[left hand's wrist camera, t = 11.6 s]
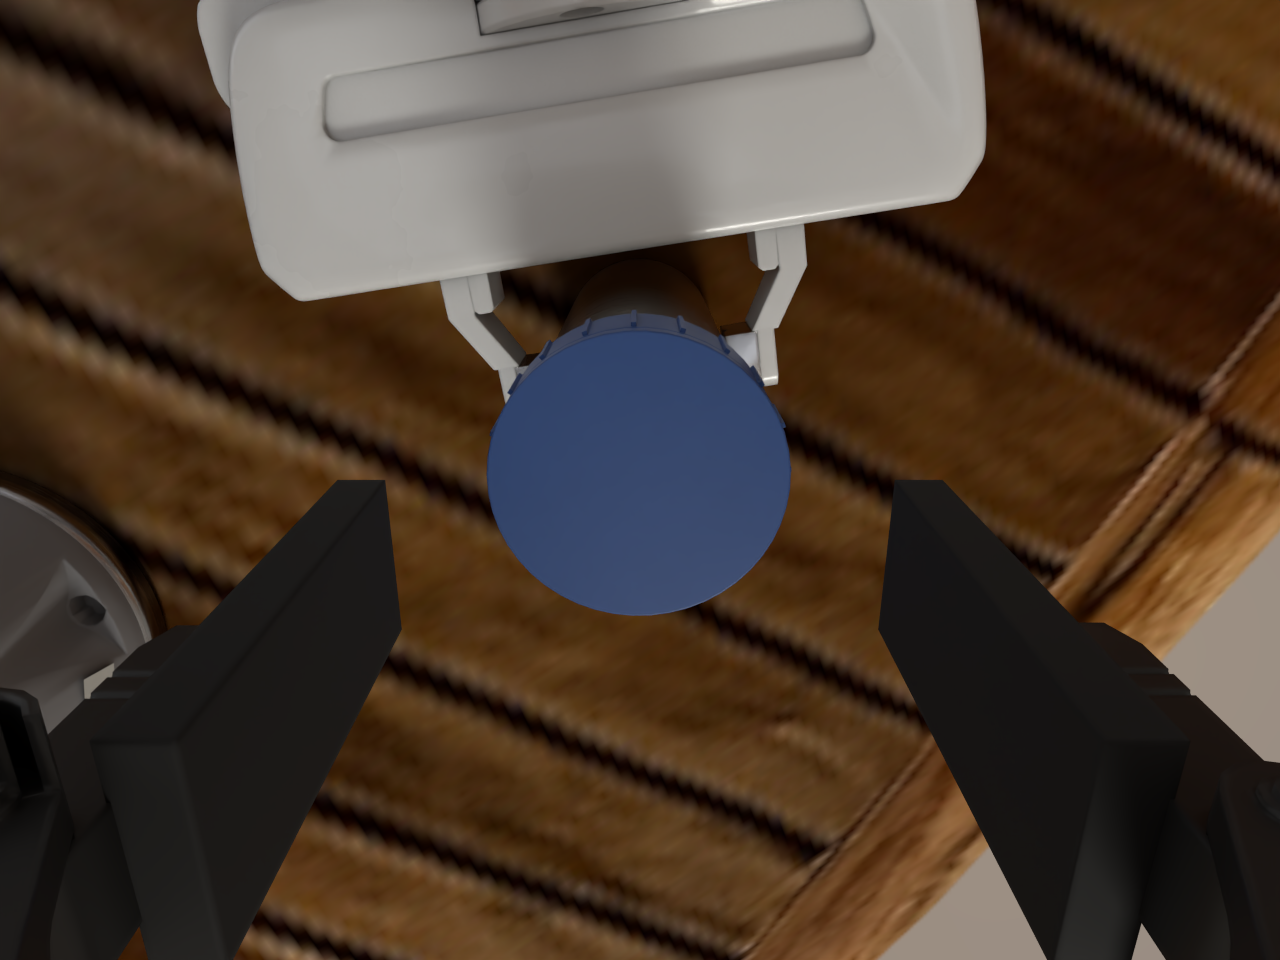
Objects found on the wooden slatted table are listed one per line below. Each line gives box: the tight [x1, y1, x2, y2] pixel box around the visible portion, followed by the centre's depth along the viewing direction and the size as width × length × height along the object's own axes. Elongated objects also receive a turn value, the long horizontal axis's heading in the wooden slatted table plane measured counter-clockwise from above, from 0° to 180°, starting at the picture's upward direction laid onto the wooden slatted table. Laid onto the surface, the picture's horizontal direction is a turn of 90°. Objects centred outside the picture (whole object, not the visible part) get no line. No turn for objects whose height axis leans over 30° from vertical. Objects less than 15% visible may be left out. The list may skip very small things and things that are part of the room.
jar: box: [557, 259, 720, 339], centre depth 25 cm, size 5×5×16 cm
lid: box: [487, 310, 791, 615], centre depth 18 cm, size 6×6×2 cm
